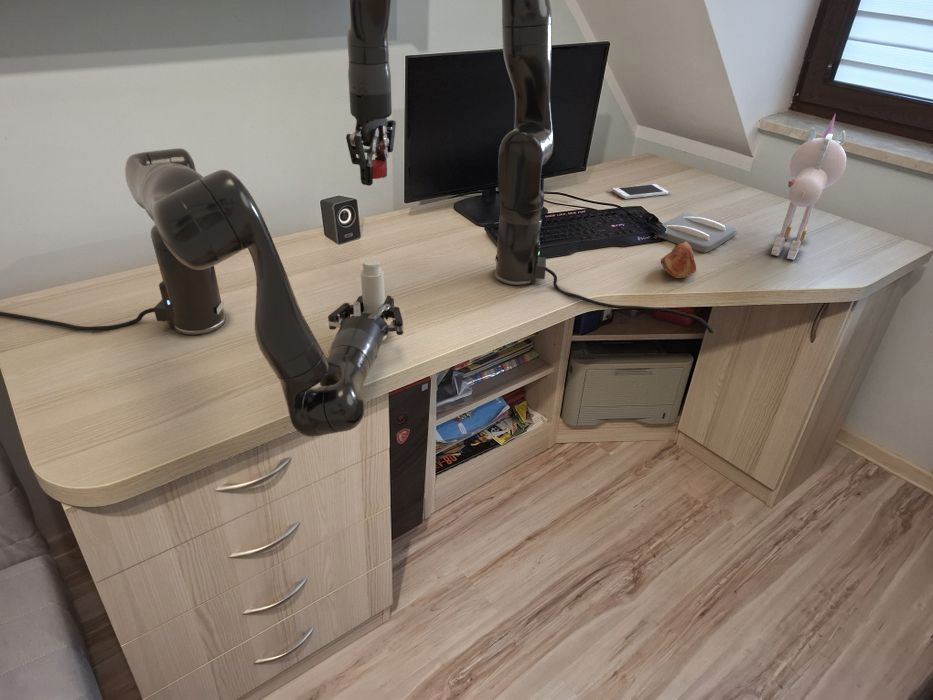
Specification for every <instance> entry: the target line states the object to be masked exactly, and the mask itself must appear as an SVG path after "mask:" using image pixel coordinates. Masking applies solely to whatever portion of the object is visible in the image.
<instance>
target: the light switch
mask: <svg viewBox="0 0 933 700" xmlns="http://www.w3.org/2000/svg"><path fill="white" fill-rule="evenodd" d="M661 224H662V225H663V226H664V227H665V228H666V231H665V234H667V235H668V237H665V236H662V235H658V236H657V235H654V236H655V237H657V238H659V239H663V240H665V241H669V242H671V243H674V244H676V245H678V244H681V243H684V242H685V241H687V242H688V243H689V245H690V246H691V248H692V250H694V251H697V252H699V253H709V252H711V251H712V250H714V249H716V248H717V247H719V246H720V245H722V244H724V243H725V242H727V241H730V239H732V238H734V237H736V234H737V228H736V227H734V226H732V225H729V224H725V223H722V222H719V221H716V220H713V219H710V218H707V217H703V216H700V215H697V214H694V213H690V212H683V213H682V214H679V215H677V216H675V217H673V218H671V219H669V220H668V221H666V222H663V223H661Z"/></svg>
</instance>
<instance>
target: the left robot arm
mask: <svg viewBox="0 0 933 700" xmlns="http://www.w3.org/2000/svg"><path fill="white" fill-rule="evenodd" d="M124 166H125V167H124V175H125V181H126V186H127V188H128V190H129V193H130V194H131V196H132V198H133V199H134V201H135V202H136V204H137V205H138V206H139V207H141V208H142V209H144V211H145V212H146V213H147V215H148V216H149V217H150V219H151V221H153V222H154V224H153V226H152V227H151V229H150V239H151V243H152V245H153V249H154V253H155V256H156V261H157V265H158V268H159V272H160V276H161V281H160V282H159V284H158V289H159V292H160V295H161V300H160V301H159V302H158V303H157V304H156V305H155V306H154V307H150V308H146V309H145V310H143V311H140V313H138V316H137V317H136V318H133V319H131V320H129V321H126V322H122V323H119V324H111V325H99V326H98V325H97V326H82V325H77V324H76V325H75V324H71V323H67V322H62V321H56V320H51V319H45V318H40V317H35V316H29V315H23V314H17V313H11V312H5V311H0V317H6V318H12V319H17V320H22V321H29V322H35V323H40V324H46V325H50V326H57V327H61V328H66V329H71V330H75V331H84V332H92V331H93V332H94V331H111V330H117V329H121V328H126V327H129V326H133V325H135V324H137V323H139V322H140V321H142V319H143V318H144V316H146V315H147V314H151V313H154V314H155V319H156V322H167V323H168V325H169V329H170V330H175V331H176V332H178V333H179V334H182V335H187V336H189V335H190V336H197V335H203V334H204V335H205V334H208V333H212V332H214V331H216V330H218V329H220V328H221V327H222V326H223V325H224V324H225V322H226V314H225V311H224V307H225V305H226V304H225V299H222V298H221V293H220V288H219V284H218V278H217V273H216V268H215V266H217V265H218V264H220V263H222V262H224V261H226V260H228V259H230V258H231V257H233V256H235V255H237V254H239V253H241V252H242V251H244V250H246V249H247V250H248V253H249V254H250V256H251V259H252V263H253V266H254V270H255V279H256V280H255V281H256V295H255V296H256V297H255V298H256V299H255V312H254V333H255V338H256V342H257V345H258V347H259V350H260V352H261V353H262V355H263V357H264V359H265V360H266V362H267V363H268V365H269V367H270V368H271V370H272V371H273V373H274V374H275V376H276V377H277V379H278V380H279V384H280V386H281V389H282V393H283V396H284V399H285V403H286V407H287V411H288V416H289V420H290V423H291V425H292V426H293V428H294V429H295V430H296V431H297V432H298V433H299V434H301V435H303V436H304V437H308V438H312V437H320V436H326V435H332V434H335V433H337V434H338V433H342V432H348V431H351V430H353V429H355V428H357V426H359V424H361V422H362V420H363V419H364V416H365V401H364V390H365V389H364V388H365V387H364V386H365V382H366V380H367V377H368V374H369V373H370V372H369V371H370V370H371V369H372V367H373V366H374V363H375V361H376V359H377V358H378V353H379V352H380V351H379V350H380V349H381V345H382V343H383V341H384V340H383V337H384V336H386V335H387V336H388V334H389V333H393V332H394V333H396V335H397V336H402V335H403V334H404V320H403V317H402V314H401V309H400V307H399V306H395V299H394V297H392V295H386V297H385V302H384V306H383V307H382V308H378V309H377V310H376V311H375V312H374V313H364V311H363V297H362V295H359V296H357V299H356V301H355V302H353V304H350V303H349V302H344V303H342V304H341V305H340V306H339V307H337V308H336V309H335V310H334V311H332V312H331V313H330V314H329V315H328V316H327V318H328V319H327V321H328V328H329V330H330V331H331V330H333V331H334V330H336V329H337V328H339V329H338V331H337V332H336V334H335V337H334V338H333V340H332V342H331V344H330V347H329V349H328V354H327V356H326V355H325V353H324V351H323V350H322V347H321V345H320V344H319V342H318V340H317V338H316V337H315V335H314V333H313V332H312V330H311V327H310V326H309V324H308V322H307V320H306V318H305V316H304V314H303V312H302V310H301V307H300V306H299V302H298V300H297V298H296V295H295V293H294V290H293V288H292V285H291V283H290V279H289V276H288V274H287V272H286V269H285V266H284V264H283V262H282V259H281V257H280V254H279V253H278V252H279V251H278V249H277V248H276V245H275V243H274V242H275V241H274V240H273V238H272V235H271V232H270V231H269V228H268V226H267V223H266V221H265V218H264V217H263V214H262V212H261V210H260V208H259V207H258V204H257V203H256V201H255V199H254V197H253V196H252V194H251V192H250V191H249V190H248V188H247V187H246V185H244V183H243V181H241V179H240V178H238V176H236V175H235V174H234V173H233V172H232V171H230V170H228V169H219V170H216V171H214V172H211V173H210V174H207V175H205V176H203V175H202V174H201V173H199V172H197V169H196V166H195V162H194V159H193V158H192V155H191V154H190V152H189V151H187V150H186V149H184V148H182V147H181V148H168V149H159V150H158V149H157V150H151V151H149V150H148V151H141V152H137V153H133V154H131V155H130V156H129V157H128V158H127V159H126V161H125V165H124ZM390 319H392V321H391V322H390V323H389V324H388V323H387V322H388V321H389V320H390ZM382 340H383V341H382ZM318 384H319V385H320V386H317V385H318ZM315 386H316V387H315Z"/></svg>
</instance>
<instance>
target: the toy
mask: <svg viewBox="0 0 933 700" xmlns="http://www.w3.org/2000/svg"><path fill="white" fill-rule="evenodd" d="M836 116H837V115H836V112H835V113H834V115H833V116H832V119H831V120H830V122H829V124H828V126H827V128H826V130H825V131H824V133H823V134H822V136H821V137H817V138H816V136H817V128H815V127H810V129H809V130H808V133H807V135H806V136H805V142H804V143H802V144H801V145H800V146H798V148H797V149H796V150H795V151H794V152H793V154H792V156H791V159H790V162H789V173H790V175H791V178H792V180H789V181H788V188H789V189H788V198H789V201H790V202H789V205H788V209H787V212H786V215H785V218H784V221H783V223H782V227H781V230H780V233H779V235H777V236H776V239H775V241H774V243H773V246H772V249H771V253H770V255H772V256H776V257H779V255H780V253H781V252H782V249H783V248H784V246H785V242H786V240H789V238H790V234H791V232H792V227H793V225H792V223H793V219H794V217H795V213H796V211H797V208H798V207H801V208H802V207H804V208H805V210H804V213H803V216H802V219H801V222H800V225H799V227H798V230H797V233H796V237H795V239H793V240H792V242H791V245H790V247H789V250H788V253H787V256H786V259H788V260H792V261H794V260H795V259H796V257H797V255H798V253H799V251H800V249H801V245H802V244H803V243H804V240H805V238H806V235H807V231H808V228H807V227H808V224H809V221H810V218H811V215H812V212H813V209H814V207H815V204H816V202H817V201H818V200H819V199H820V197H821V195H822V193H823V191H824V189H827V188H828V187H831V186H832V185H834V184H835V183H836V182H837V181H838V180H840V178H841V177H842V176H843V174H844V173H845V170H846V168H847V167H846V166H847V154H846V152H845V150H844V148H843V145H844V143H845V141H846V140H847V134H846V131H845V130H840V131H839V132H838V133H837V135H836V137H835V139H833V129H834V125H835V120H836ZM841 135H842V138H841V141H840V137H841Z"/></svg>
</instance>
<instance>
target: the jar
mask: <svg viewBox="0 0 933 700" xmlns="http://www.w3.org/2000/svg"><path fill="white" fill-rule="evenodd" d="M381 265H382V261H381V260H380V258H377V257H367V258H364V259H363V260H362V265H361V266H362V270H361V271H360V280H361V296H362V297H363V311H364V313H374V312H375V311H376V310H377V309H378V308H382V307H383V306H384V302H385V300H386V297H385V296H386V295H385V274H384V273H385V272H384V270H383V269H382V268H381ZM387 337H388V334H387V335H386V336H384V337H383V340H382V342H383V341H385V340H386V339H387Z"/></svg>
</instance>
